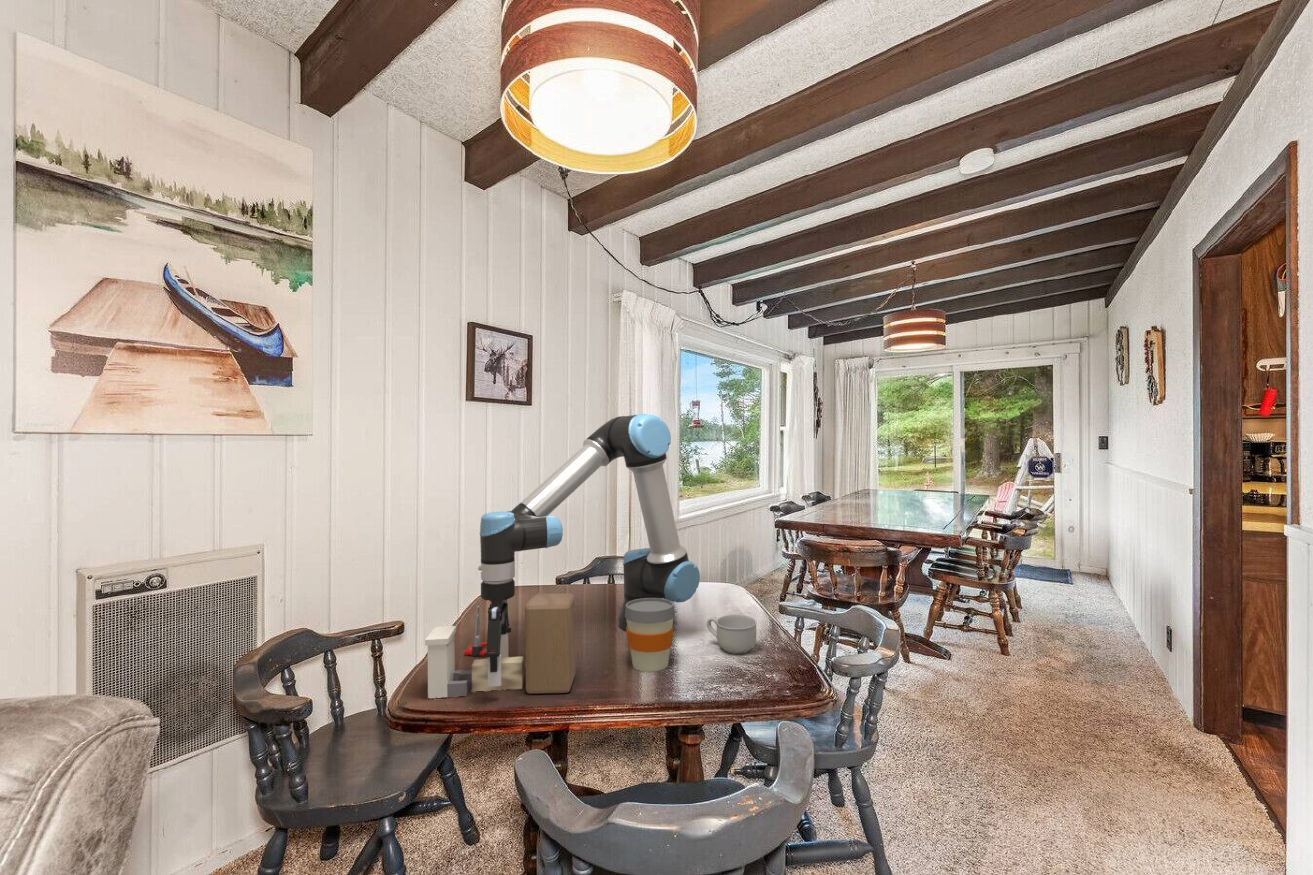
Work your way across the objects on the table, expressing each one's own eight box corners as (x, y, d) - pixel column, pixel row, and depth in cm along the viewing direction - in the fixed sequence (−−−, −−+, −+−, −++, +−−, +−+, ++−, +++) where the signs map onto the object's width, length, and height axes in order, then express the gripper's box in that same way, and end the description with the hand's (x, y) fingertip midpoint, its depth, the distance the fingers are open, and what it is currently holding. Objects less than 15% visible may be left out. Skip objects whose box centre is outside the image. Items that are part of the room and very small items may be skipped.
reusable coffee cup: (618, 659, 144) (617, 601, 144) (663, 652, 149) (662, 595, 149) (636, 678, 132) (635, 614, 132) (684, 669, 137) (683, 607, 137)
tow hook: (476, 645, 157) (460, 656, 148) (477, 598, 158) (461, 606, 148) (505, 647, 156) (490, 657, 146) (506, 599, 156) (491, 607, 147)
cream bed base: (472, 681, 132) (472, 624, 132) (465, 697, 123) (465, 637, 123) (435, 683, 131) (435, 626, 131) (425, 700, 122) (425, 639, 122)
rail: (523, 681, 131) (523, 656, 131) (522, 688, 127) (521, 662, 127) (461, 686, 129) (461, 660, 129) (458, 693, 125) (457, 666, 125)
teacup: (764, 649, 150) (764, 619, 150) (741, 660, 142) (741, 629, 142) (722, 637, 159) (722, 609, 160) (698, 647, 151) (698, 618, 152)
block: (575, 675, 134) (574, 592, 134) (570, 694, 124) (569, 603, 124) (533, 676, 134) (533, 592, 134) (524, 695, 124) (524, 604, 124)
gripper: (489, 568, 140) (490, 653, 140) (470, 595, 116) (471, 698, 116) (519, 567, 141) (520, 651, 141) (508, 593, 117) (509, 695, 117)
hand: (498, 673), depth 128 cm, fingers open, 13 cm apart
